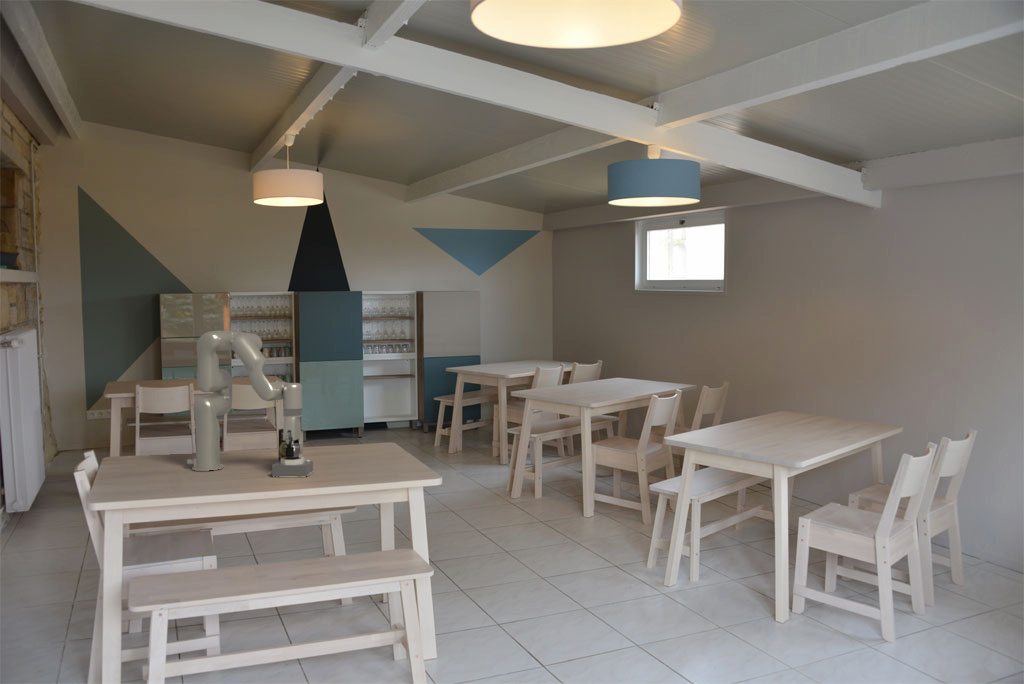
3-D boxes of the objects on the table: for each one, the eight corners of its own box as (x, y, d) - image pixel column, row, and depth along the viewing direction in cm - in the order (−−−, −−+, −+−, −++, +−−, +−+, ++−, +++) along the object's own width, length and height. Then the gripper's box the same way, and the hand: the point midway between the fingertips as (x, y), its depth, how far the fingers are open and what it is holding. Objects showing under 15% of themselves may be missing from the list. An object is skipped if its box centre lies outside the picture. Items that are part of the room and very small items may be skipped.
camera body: (272, 477, 310) (272, 460, 309) (279, 472, 320) (279, 456, 319) (306, 477, 310) (306, 460, 309) (312, 472, 320) (312, 456, 319)
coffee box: (277, 465, 335) (277, 429, 334) (288, 463, 341) (288, 427, 340) (293, 467, 331) (293, 430, 330) (303, 465, 336) (303, 429, 336)
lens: (284, 463, 312) (284, 444, 312) (288, 461, 317) (288, 442, 317) (296, 464, 312) (297, 444, 312) (300, 462, 317) (300, 442, 317)
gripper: (289, 410, 323) (289, 451, 323) (277, 415, 305) (277, 458, 306) (307, 410, 323) (307, 451, 323) (295, 415, 305) (295, 458, 306)
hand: (292, 454), depth 314 cm, fingers open, 7 cm apart
